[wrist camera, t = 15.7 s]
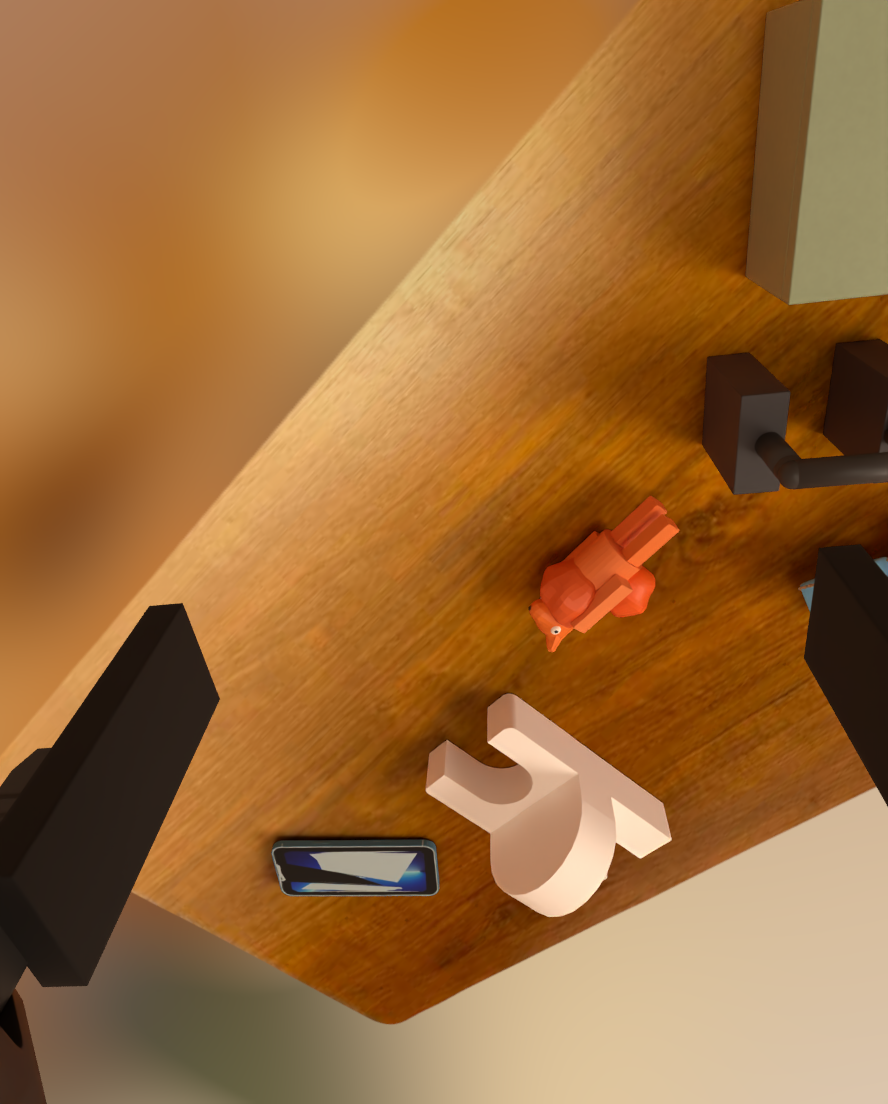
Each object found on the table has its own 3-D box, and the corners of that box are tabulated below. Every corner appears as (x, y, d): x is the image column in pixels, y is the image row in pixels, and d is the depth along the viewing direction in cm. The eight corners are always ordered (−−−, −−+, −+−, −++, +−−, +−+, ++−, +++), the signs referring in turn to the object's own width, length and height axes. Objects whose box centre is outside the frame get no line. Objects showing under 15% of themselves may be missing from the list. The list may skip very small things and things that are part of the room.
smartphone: (439, 896, 70) (282, 896, 71) (440, 887, 71) (285, 887, 71) (435, 845, 66) (269, 846, 67) (435, 836, 67) (271, 837, 68)
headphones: (707, 356, 43) (769, 428, 34) (879, 338, 42) (996, 407, 33) (701, 445, 46) (758, 535, 36) (863, 430, 45) (966, 519, 35)
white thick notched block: (662, 802, 63) (693, 926, 53) (578, 855, 67) (592, 978, 57) (509, 690, 57) (512, 805, 48) (427, 755, 61) (415, 873, 52)
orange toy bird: (655, 521, 43) (518, 646, 48) (727, 567, 47) (593, 677, 52) (622, 470, 46) (498, 592, 51) (691, 516, 50) (570, 624, 55)
